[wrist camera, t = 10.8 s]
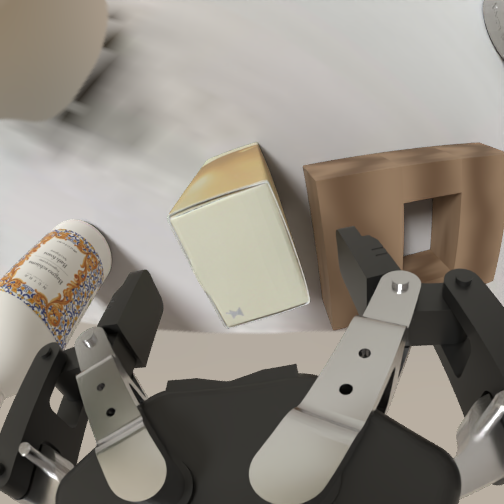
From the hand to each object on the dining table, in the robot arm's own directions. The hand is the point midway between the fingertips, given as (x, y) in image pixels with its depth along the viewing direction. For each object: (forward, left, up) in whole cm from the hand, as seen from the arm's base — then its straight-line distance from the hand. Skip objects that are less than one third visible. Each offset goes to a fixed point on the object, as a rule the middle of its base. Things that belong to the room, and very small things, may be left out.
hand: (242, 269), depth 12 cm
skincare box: (0, 0, -12) cm, 12 cm away
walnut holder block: (-14, +6, -12) cm, 19 cm away
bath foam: (+16, +2, -12) cm, 20 cm away
